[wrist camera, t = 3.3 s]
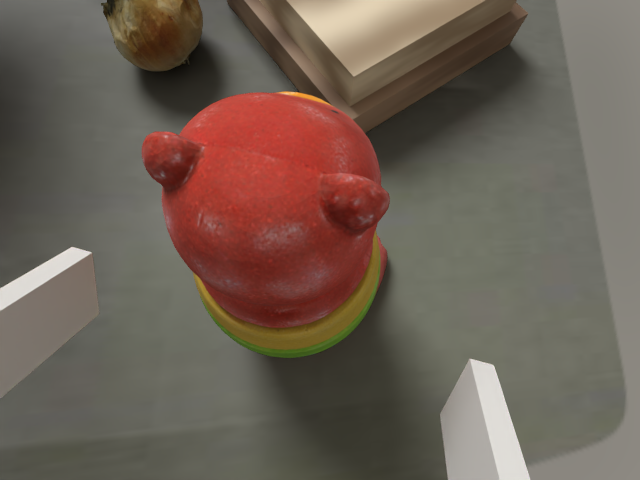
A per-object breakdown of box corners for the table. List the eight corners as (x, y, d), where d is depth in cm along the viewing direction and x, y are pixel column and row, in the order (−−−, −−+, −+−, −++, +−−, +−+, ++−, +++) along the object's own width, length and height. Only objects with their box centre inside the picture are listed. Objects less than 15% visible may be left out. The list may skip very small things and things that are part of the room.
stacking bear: (393, 242, 27) (524, 44, 10) (348, 382, 24) (425, 450, 7) (256, 195, 28) (158, -57, 11) (197, 324, 25) (-61, 258, 8)
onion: (129, 99, 30) (66, 13, 23) (122, 26, 33) (62, -75, 25) (220, 82, 31) (188, -8, 23) (206, 11, 33) (173, -92, 26)
